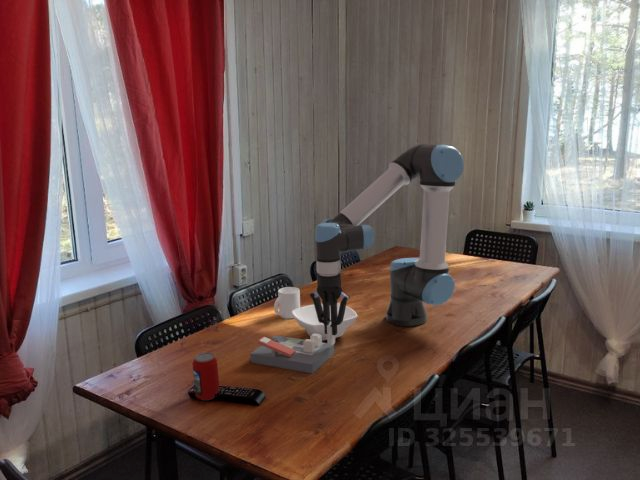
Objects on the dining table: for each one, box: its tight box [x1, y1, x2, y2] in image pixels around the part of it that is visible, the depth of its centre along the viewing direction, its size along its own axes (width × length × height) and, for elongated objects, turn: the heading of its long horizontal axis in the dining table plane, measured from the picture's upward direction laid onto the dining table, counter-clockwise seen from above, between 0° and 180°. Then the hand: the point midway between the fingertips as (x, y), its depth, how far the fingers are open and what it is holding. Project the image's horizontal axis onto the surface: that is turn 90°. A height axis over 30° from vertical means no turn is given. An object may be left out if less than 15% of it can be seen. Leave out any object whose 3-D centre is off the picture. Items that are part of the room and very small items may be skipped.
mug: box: [273, 286, 301, 320], centre depth 218 cm, size 12×8×10 cm
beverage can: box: [192, 352, 220, 401], centre depth 159 cm, size 7×7×12 cm
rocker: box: [256, 336, 296, 357], centre depth 179 cm, size 12×4×1 cm, turn 65°
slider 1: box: [303, 338, 315, 353], centre depth 179 cm, size 3×2×3 cm
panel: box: [249, 334, 335, 374], centre depth 182 cm, size 22×16×4 cm
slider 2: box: [309, 333, 323, 347], centre depth 184 cm, size 3×2×3 cm
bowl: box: [292, 302, 358, 342], centre depth 199 cm, size 21×21×9 cm
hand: (331, 343), depth 181 cm, fingers closed
